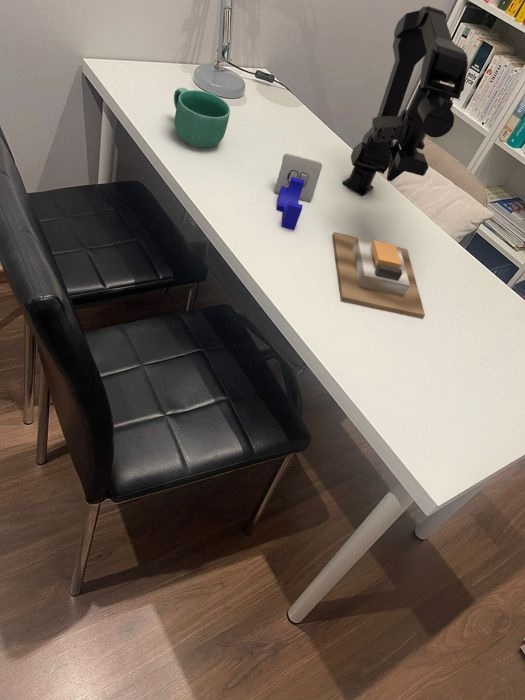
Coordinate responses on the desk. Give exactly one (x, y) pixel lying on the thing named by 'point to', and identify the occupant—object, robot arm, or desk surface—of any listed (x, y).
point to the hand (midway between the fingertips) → (388, 180)
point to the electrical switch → (299, 174)
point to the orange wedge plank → (385, 254)
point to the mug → (200, 117)
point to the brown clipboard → (375, 278)
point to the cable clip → (290, 203)
